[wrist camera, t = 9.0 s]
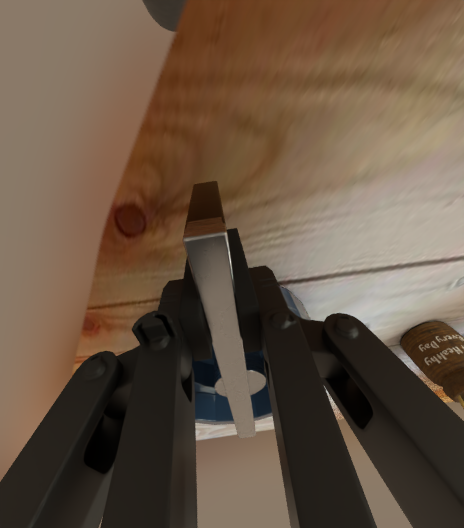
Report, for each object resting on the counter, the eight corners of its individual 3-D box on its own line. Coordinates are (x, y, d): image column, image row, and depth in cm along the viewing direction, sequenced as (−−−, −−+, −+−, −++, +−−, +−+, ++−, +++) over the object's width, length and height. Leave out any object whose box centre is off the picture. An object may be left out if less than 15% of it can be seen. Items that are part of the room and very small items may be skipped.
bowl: (135, 288, 18) (109, 349, 13) (310, 260, 18) (347, 311, 14) (181, 377, 27) (175, 434, 22) (298, 358, 27) (318, 410, 22)
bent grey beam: (260, 365, 24) (278, 442, 18) (217, 372, 24) (221, 452, 18) (247, 176, 12) (285, 223, 6) (162, 188, 12) (122, 248, 6)
